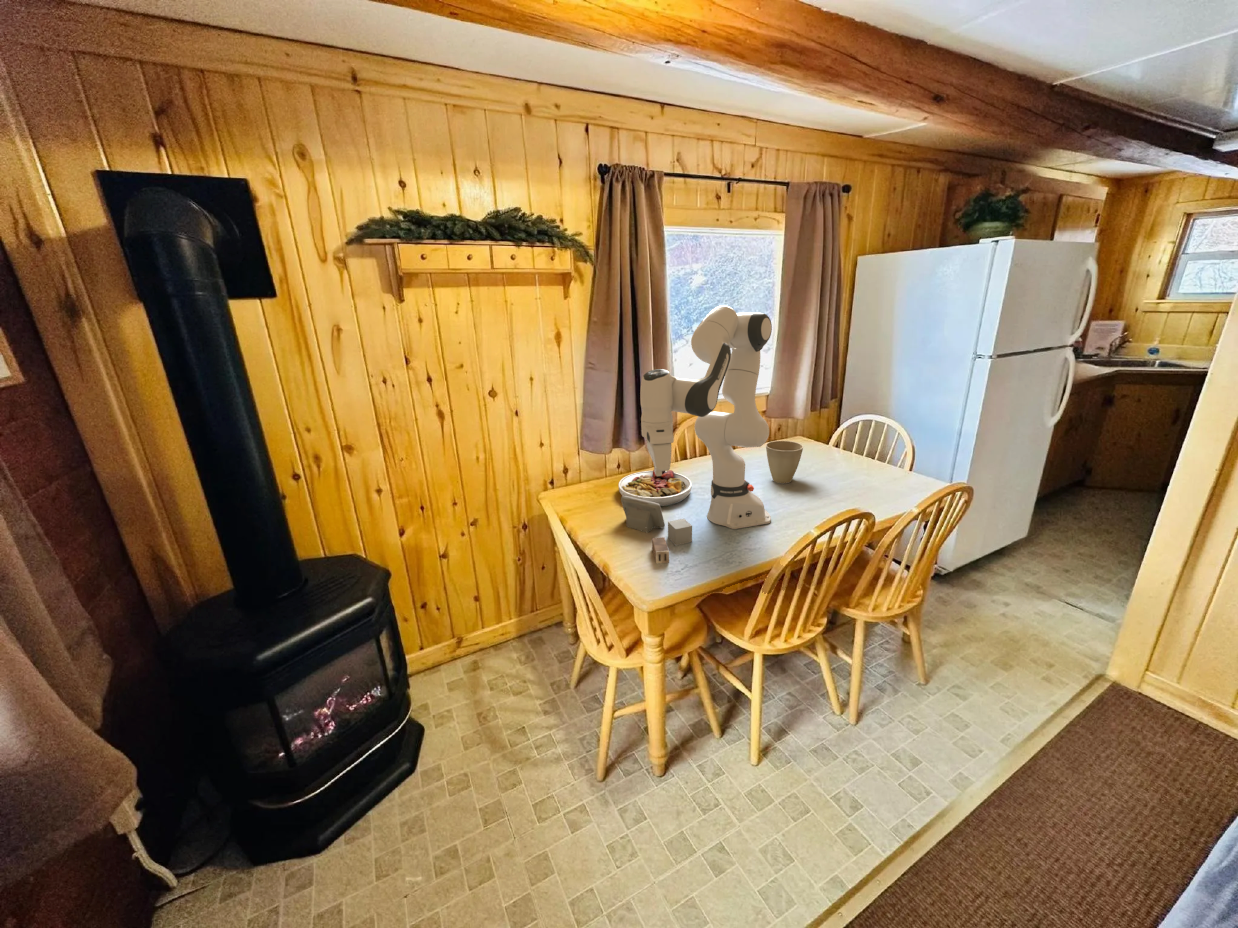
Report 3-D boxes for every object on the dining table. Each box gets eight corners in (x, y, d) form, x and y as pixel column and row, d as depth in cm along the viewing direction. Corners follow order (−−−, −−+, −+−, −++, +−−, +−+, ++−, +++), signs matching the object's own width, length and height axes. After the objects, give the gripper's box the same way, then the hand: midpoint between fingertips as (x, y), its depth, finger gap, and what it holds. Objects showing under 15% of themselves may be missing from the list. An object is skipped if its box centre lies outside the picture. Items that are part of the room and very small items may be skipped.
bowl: (689, 511, 181) (689, 492, 178) (612, 507, 187) (611, 489, 184) (693, 482, 209) (693, 465, 206) (626, 479, 215) (625, 463, 212)
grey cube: (683, 534, 164) (684, 518, 162) (691, 542, 158) (692, 525, 156) (668, 537, 162) (667, 521, 160) (675, 545, 157) (675, 529, 155)
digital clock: (667, 528, 168) (667, 500, 165) (650, 537, 162) (649, 509, 159) (634, 515, 179) (633, 489, 176) (617, 523, 174) (616, 496, 170)
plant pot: (795, 474, 212) (798, 440, 207) (803, 487, 198) (807, 450, 193) (760, 474, 214) (763, 440, 208) (767, 487, 200) (769, 451, 195)
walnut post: (668, 562, 147) (664, 548, 155) (668, 551, 145) (664, 537, 154) (656, 563, 147) (652, 548, 155) (656, 552, 145) (652, 538, 154)
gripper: (641, 419, 143) (642, 462, 148) (651, 440, 124) (652, 488, 129) (662, 418, 144) (662, 461, 149) (674, 438, 125) (675, 487, 130)
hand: (658, 474), depth 139 cm, fingers closed
